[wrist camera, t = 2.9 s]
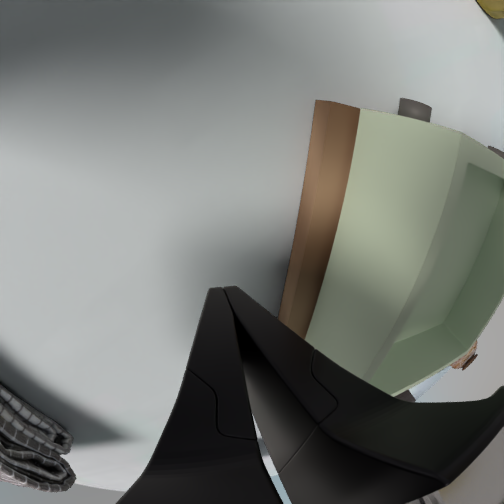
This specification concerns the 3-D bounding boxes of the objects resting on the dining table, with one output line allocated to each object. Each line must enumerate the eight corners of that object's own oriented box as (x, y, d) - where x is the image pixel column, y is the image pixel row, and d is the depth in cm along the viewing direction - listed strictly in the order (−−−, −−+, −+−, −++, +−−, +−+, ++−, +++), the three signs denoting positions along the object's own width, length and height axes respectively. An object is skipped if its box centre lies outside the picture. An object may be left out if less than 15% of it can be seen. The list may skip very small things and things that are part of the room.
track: (480, 287, 21) (486, 293, 20) (271, 346, 14) (277, 360, 13) (521, 181, 15) (528, 186, 14) (315, 100, 8) (330, 101, 7)
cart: (431, 326, 17) (461, 360, 14) (294, 369, 14) (323, 430, 11) (499, 153, 10) (548, 179, 7) (363, 86, 7) (466, 100, 4)
